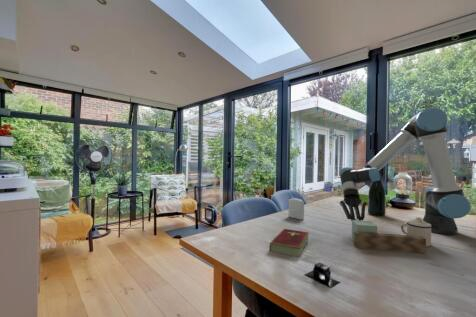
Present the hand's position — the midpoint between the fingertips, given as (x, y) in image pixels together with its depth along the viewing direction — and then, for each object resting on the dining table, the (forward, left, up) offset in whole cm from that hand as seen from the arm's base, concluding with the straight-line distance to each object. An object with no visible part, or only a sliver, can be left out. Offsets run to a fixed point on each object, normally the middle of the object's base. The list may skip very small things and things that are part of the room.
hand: (358, 232), depth 109 cm
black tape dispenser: (+23, +43, -4) cm, 49 cm away
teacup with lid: (-24, -2, -3) cm, 25 cm away
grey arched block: (+28, -31, -3) cm, 41 cm away
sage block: (-1, +5, -3) cm, 6 cm away
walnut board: (-8, +11, -3) cm, 14 cm away
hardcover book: (+32, +17, -4) cm, 36 cm away
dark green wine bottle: (-27, -56, -3) cm, 62 cm away
